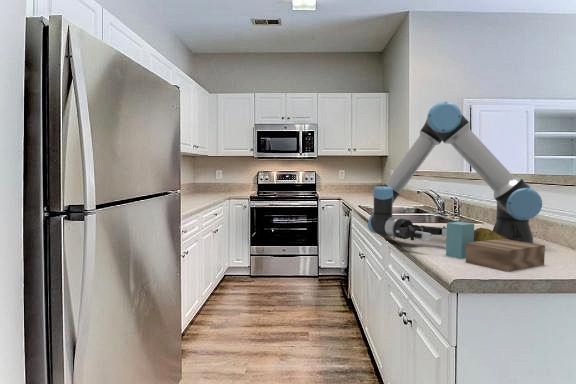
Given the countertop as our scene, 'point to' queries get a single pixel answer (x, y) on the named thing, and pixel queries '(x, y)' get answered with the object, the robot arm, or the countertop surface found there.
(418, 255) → the countertop surface
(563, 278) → the countertop surface
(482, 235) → the potato
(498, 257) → the block
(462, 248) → the teal block
